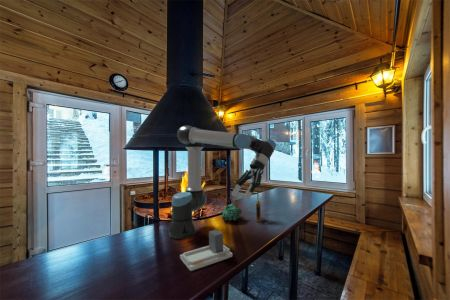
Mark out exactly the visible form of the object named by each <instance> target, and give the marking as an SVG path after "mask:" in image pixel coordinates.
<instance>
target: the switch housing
mask: <svg viewBox="0 0 450 300" xmlns="http://www.w3.org/2000/svg"><path fill="white" fill-rule="evenodd" d="M232 257H233V252H231V249H230V248H229V247H227V246H226V245H225V244H223V251H222V252H219V253H216V254H215V253H214V252H212V251H211V250H210V249H209V245H206V246H202V247H199V248H196V249H195V248H194V249H192V250H189V251H185V252H183V253H182V254H179V259H180V260H181V261H182V262H183V264H184V265H185V266H186V267H187V269H188V270H189V271H190V272H193V271H195V270H198V269H201V268H204V267H208V266H210V265H212V264H215V263H219V262H221V261H224V260H226V259H227V260H228V259H229V258H232Z"/></svg>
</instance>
